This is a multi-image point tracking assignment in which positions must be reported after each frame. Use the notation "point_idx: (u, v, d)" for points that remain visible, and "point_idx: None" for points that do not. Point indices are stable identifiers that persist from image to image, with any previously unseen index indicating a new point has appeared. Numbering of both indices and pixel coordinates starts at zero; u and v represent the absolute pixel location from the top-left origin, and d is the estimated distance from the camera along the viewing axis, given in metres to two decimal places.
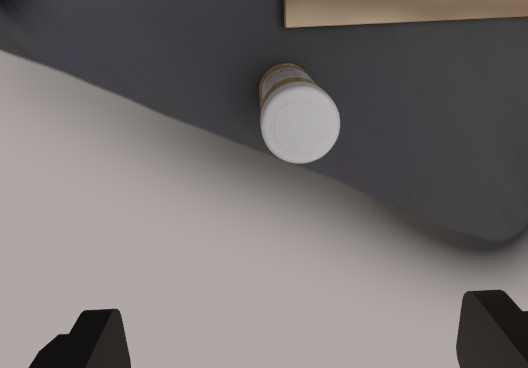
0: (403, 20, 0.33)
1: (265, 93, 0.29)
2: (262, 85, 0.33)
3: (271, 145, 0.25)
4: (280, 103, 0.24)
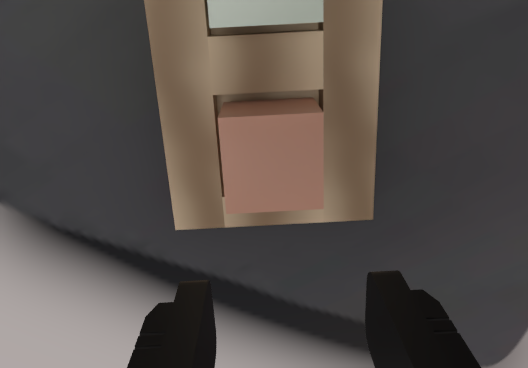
0: None
1: None
2: None
3: None
4: None
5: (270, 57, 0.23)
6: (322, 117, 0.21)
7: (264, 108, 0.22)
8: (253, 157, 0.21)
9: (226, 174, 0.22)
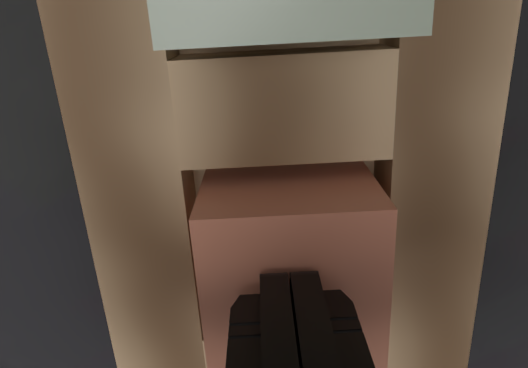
0: None
1: None
2: None
3: None
4: None
5: (292, 100, 0.12)
6: (395, 219, 0.11)
7: (279, 189, 0.12)
8: (258, 288, 0.11)
9: (208, 317, 0.12)
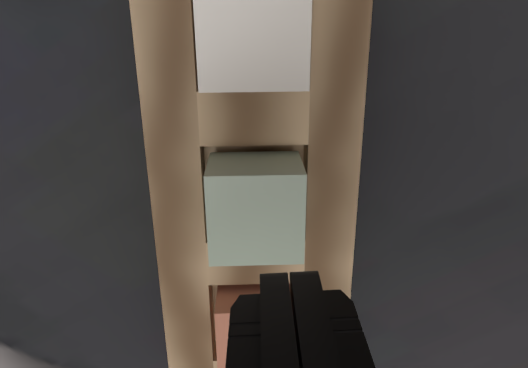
0: (142, 108, 0.23)
1: None
2: None
3: None
4: None
5: None
6: None
7: None
8: None
9: (219, 352, 0.27)
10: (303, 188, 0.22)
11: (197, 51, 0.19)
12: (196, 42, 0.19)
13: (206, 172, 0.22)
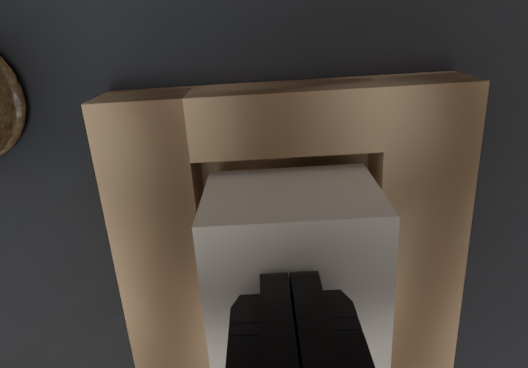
0: (133, 343, 0.16)
1: None
2: None
3: None
4: None
5: None
6: None
7: None
8: None
9: None
10: None
11: (208, 335, 0.12)
12: (205, 323, 0.12)
13: None
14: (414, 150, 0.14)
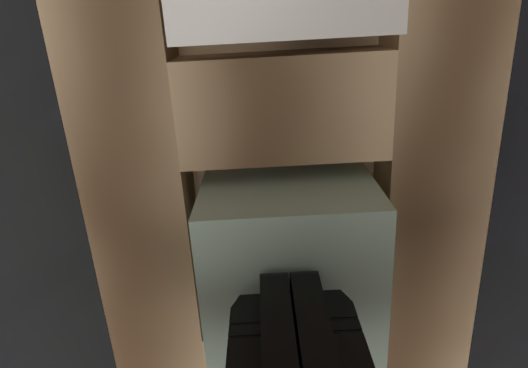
0: (62, 100, 0.12)
1: None
2: None
3: None
4: None
5: None
6: None
7: None
8: None
9: None
10: (389, 237, 0.11)
11: None
12: None
13: (195, 211, 0.11)
14: None
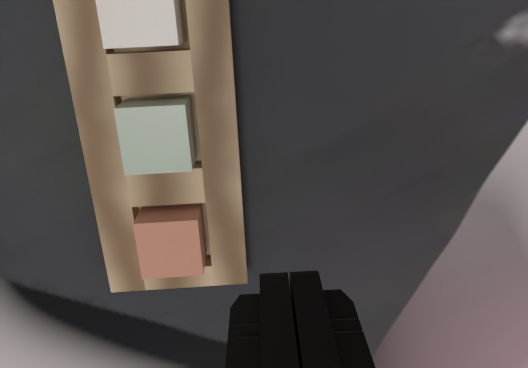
0: (68, 68, 0.32)
1: None
2: None
3: None
4: None
5: (168, 184, 0.35)
6: (197, 222, 0.34)
7: (165, 213, 0.36)
8: (156, 246, 0.35)
9: (140, 256, 0.35)
10: (184, 114, 0.31)
11: (99, 20, 0.29)
12: (98, 14, 0.29)
13: (116, 106, 0.31)
14: None
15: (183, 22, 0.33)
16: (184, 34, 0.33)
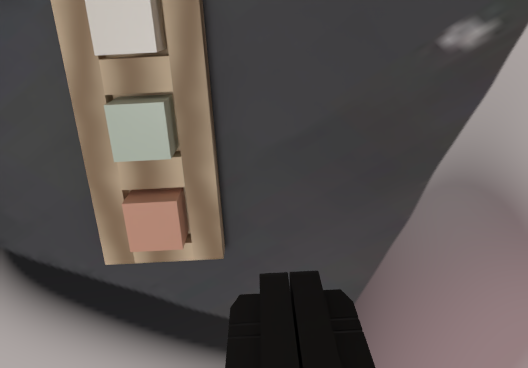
0: (66, 71, 0.38)
1: None
2: None
3: None
4: None
5: (153, 170, 0.41)
6: (176, 203, 0.40)
7: (150, 195, 0.41)
8: (142, 223, 0.41)
9: (128, 231, 0.41)
10: (162, 110, 0.37)
11: (91, 32, 0.35)
12: (90, 27, 0.34)
13: (107, 103, 0.37)
14: None
15: None
16: (165, 42, 0.39)
